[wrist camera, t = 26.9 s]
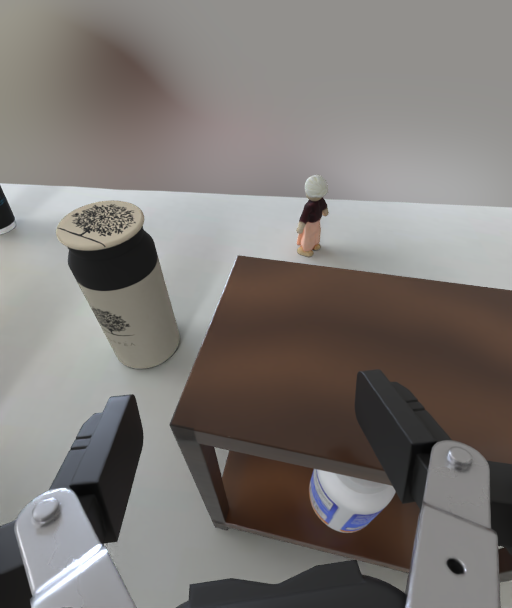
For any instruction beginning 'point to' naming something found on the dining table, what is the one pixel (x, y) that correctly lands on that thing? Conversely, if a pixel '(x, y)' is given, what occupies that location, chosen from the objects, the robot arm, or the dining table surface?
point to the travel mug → (121, 280)
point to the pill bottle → (347, 500)
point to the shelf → (336, 393)
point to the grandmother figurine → (312, 215)
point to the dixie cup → (5, 215)
